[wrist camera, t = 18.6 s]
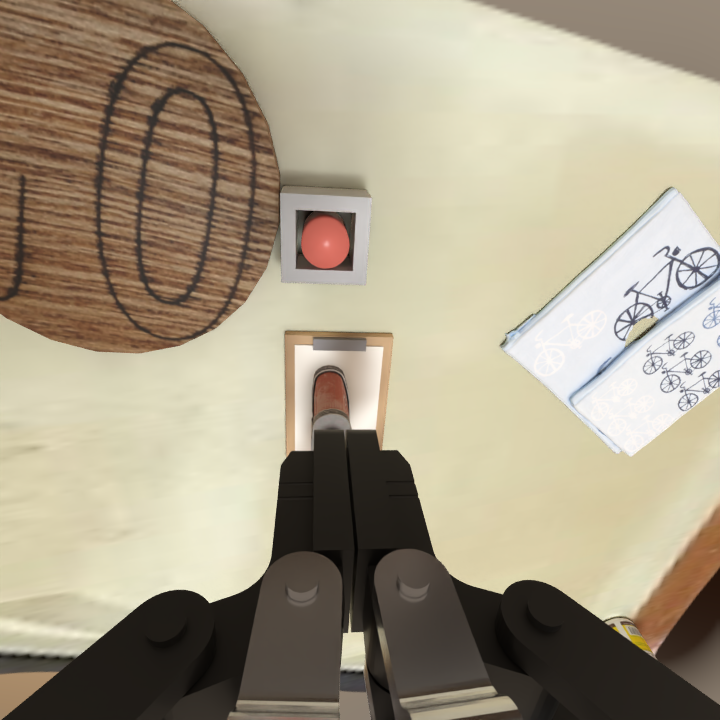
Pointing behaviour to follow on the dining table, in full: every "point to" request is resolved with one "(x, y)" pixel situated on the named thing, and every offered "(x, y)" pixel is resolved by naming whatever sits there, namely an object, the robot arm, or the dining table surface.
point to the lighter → (329, 401)
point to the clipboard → (362, 373)
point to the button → (324, 239)
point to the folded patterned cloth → (616, 319)
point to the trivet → (127, 175)
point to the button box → (332, 200)
